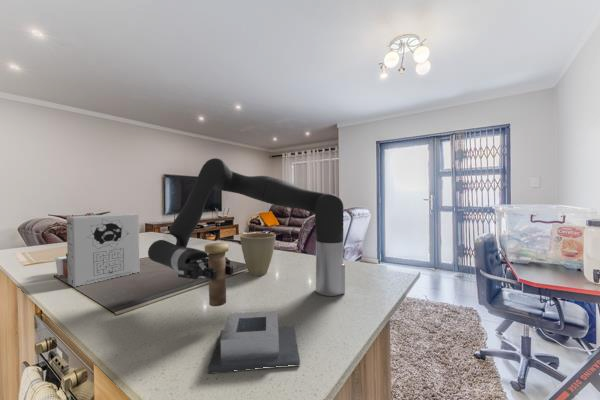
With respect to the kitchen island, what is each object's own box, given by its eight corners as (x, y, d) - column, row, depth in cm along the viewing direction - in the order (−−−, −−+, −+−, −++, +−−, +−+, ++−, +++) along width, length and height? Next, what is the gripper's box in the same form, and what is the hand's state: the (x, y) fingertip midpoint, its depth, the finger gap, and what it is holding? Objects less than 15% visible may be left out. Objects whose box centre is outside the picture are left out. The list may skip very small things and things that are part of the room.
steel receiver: (293, 330, 62) (293, 309, 62) (299, 366, 50) (299, 339, 49) (221, 335, 60) (221, 313, 60) (208, 373, 48) (208, 345, 47)
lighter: (67, 278, 102) (66, 253, 102) (60, 278, 102) (59, 253, 102) (87, 272, 110) (87, 249, 110) (81, 272, 110) (80, 248, 110)
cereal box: (132, 269, 114) (131, 213, 113) (139, 272, 110) (139, 213, 109) (67, 283, 96) (66, 216, 96) (74, 287, 92) (72, 217, 91)
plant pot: (275, 278, 102) (275, 237, 102) (237, 279, 101) (237, 238, 101) (276, 267, 117) (276, 232, 117) (243, 268, 116) (242, 232, 116)
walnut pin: (230, 297, 68) (229, 242, 67) (227, 306, 62) (226, 246, 62) (208, 299, 67) (207, 243, 67) (203, 308, 61) (202, 247, 61)
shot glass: (58, 277, 104) (58, 259, 104) (52, 274, 107) (52, 257, 107) (80, 272, 110) (79, 256, 109) (73, 270, 113) (73, 254, 113)
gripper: (163, 253, 68) (194, 263, 57) (212, 244, 79) (247, 252, 68) (164, 281, 68) (195, 297, 57) (213, 269, 79) (247, 280, 68)
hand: (223, 272), depth 62 cm, fingers closed on walnut pin, 4 cm apart
